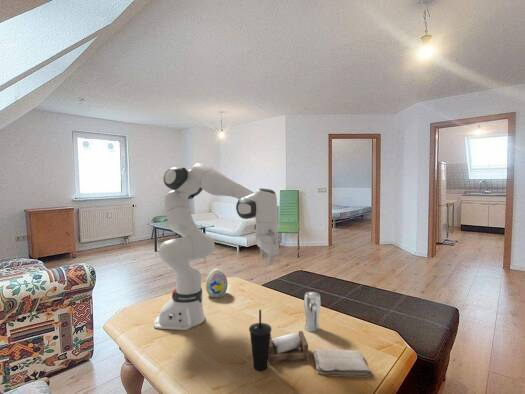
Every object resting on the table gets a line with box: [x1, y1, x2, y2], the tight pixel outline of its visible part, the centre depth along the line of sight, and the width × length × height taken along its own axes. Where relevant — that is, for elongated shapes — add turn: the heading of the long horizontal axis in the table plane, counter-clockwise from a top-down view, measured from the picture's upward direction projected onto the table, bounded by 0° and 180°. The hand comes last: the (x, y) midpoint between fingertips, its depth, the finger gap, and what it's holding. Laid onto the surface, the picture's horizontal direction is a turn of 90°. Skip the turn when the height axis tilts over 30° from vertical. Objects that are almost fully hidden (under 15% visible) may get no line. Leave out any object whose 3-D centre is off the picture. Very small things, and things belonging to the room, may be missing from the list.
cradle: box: [268, 330, 309, 364], centre depth 102 cm, size 14×9×6 cm, turn 94°
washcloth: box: [312, 348, 373, 378], centre depth 96 cm, size 12×18×3 cm, turn 88°
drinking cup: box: [248, 309, 272, 372], centre depth 95 cm, size 8×8×20 cm
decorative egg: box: [205, 268, 229, 299], centre depth 157 cm, size 12×12×15 cm
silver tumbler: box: [303, 291, 321, 333], centre depth 120 cm, size 7×7×15 cm
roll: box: [272, 332, 301, 354], centre depth 102 cm, size 9×5×5 cm
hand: (266, 261), depth 114 cm, fingers open, 8 cm apart
